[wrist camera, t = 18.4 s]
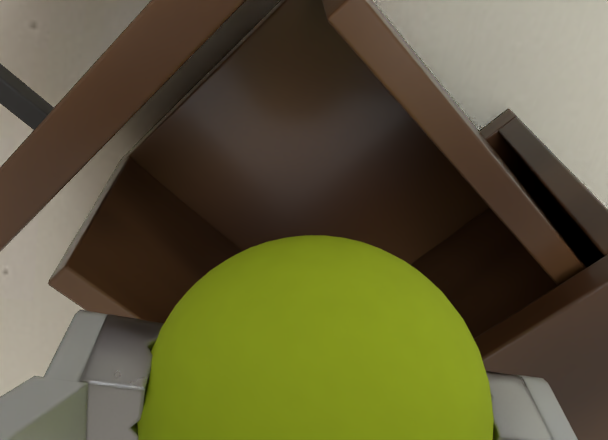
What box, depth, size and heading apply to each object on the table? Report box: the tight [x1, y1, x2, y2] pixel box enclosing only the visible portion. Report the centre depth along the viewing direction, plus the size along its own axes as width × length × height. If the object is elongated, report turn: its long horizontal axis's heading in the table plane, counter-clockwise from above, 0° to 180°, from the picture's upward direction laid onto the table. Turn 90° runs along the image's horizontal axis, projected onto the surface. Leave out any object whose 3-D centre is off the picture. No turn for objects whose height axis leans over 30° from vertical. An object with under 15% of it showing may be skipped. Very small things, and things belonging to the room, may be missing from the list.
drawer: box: [0, 0, 587, 339], centre depth 16 cm, size 18×11×8 cm, turn 43°
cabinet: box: [474, 109, 608, 440], centre depth 22 cm, size 15×13×10 cm
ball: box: [137, 235, 494, 440], centre depth 10 cm, size 6×6×6 cm
